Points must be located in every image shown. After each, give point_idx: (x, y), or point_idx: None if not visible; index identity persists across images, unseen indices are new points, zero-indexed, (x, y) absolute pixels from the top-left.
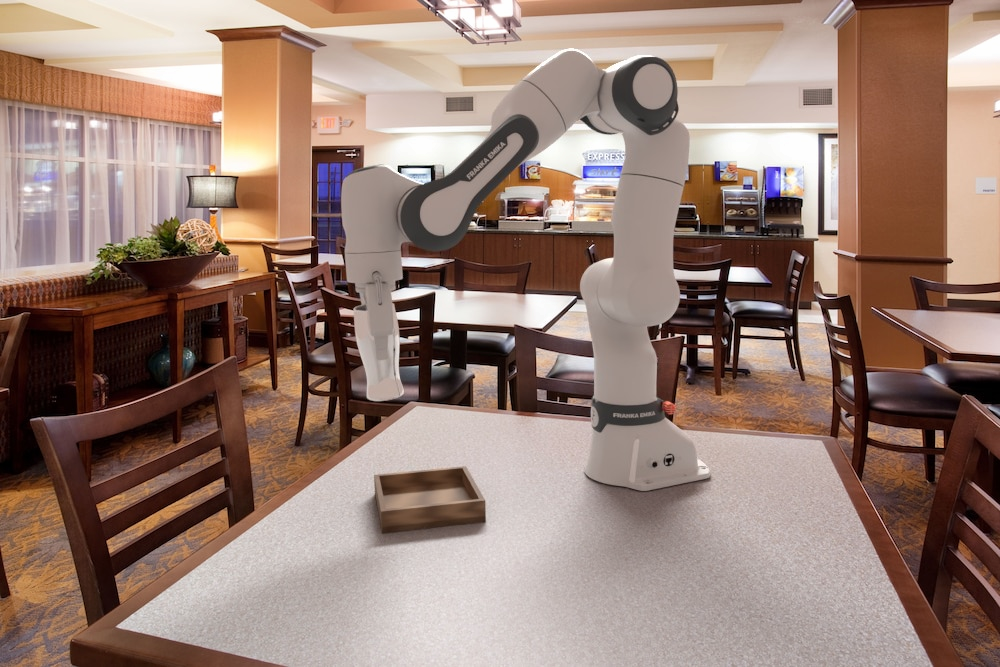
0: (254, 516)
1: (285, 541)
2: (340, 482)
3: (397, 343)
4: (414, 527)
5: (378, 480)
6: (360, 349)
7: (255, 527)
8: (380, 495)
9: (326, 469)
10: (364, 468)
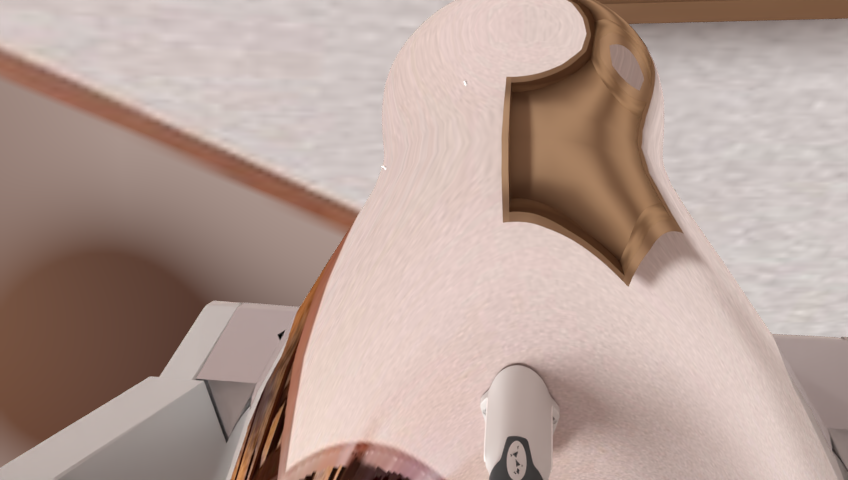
0: None
1: (765, 263)
2: (341, 117)
3: (698, 300)
4: None
5: None
6: None
7: None
8: (716, 11)
9: (217, 158)
10: (210, 33)
